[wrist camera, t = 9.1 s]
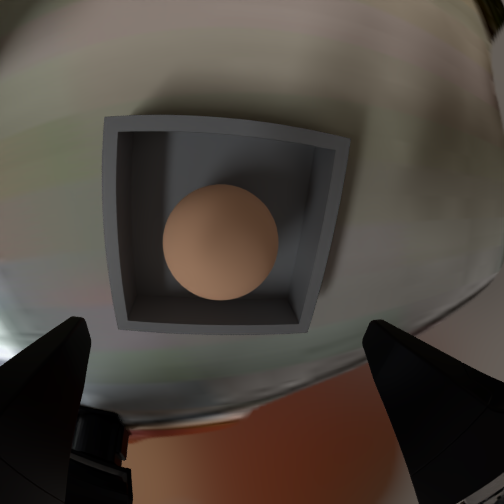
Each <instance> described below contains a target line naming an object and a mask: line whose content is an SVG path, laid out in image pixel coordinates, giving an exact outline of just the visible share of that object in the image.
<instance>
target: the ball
mask: <svg viewBox="0 0 504 504" xmlns="http://www.w3.org/2000/svg"><path fill="white" fill-rule="evenodd" d="M278 244H279V242H278V232H277V227H276V224H275V221H274V219H273V217H272V215H271V213H270V211H269V210H268V208H267V207H266V205H265V204H264V203H263V202H262V201H261V200H260V199H259V198H257V197H256V196H255V195H253V194H252V193H250V192H249V191H247V190H245V189H242V188H240V187H236V186H233V185H226V184H216V185H209V186H205V187H202V188H199V189H197V190H195V191H193V192H191V193H189V194H188V195H187V196H185V197H184V198H183V199H182V200H181V201H180V202H179V203H178V204H177V205H176V206H175V208H174V209H173V210H172V212H171V213H170V215H169V217H168V219H167V222H166V225H165V229H164V234H163V251H164V256H165V260H166V263H167V265H168V268H169V269H170V271H171V273H172V275H173V276H174V277H175V279H176V280H177V281H178V282H179V283H180V284H181V285H182V286H183V287H184V288H186V289H187V290H188V291H190V292H192V293H193V294H195V295H197V296H200V297H203V298H206V299H211V300H230V299H235V298H238V297H241V296H243V295H246V294H248V293H249V292H251V291H253V290H254V289H256V288H257V287H258V286H259V285H260V284H261V283H262V282H263V281H264V280H265V279H266V277H267V276H268V275H269V273H270V272H271V270H272V268H273V266H274V263H275V261H276V257H277V253H278Z"/></svg>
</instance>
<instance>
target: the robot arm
mask: <svg viewBox="0 0 504 504" xmlns="http://www.w3.org/2000/svg"><path fill="white" fill-rule="evenodd" d="M362 344H363V348H364V351H365V354H366V357H367V360H368V363H369V366H370V370H371V373H372V376H373V379H374V382H375V384H376V387H377V389H378V392H379V394H380V396H381V399H382V401H383V404H384V406H385V409H386V411H387V414H388V416H389V419H390V421H391V424H392V427H393V429H394V432H395V434H396V437H397V440H398V442H399V445H400V448H401V451H402V453H403V456H404V459H405V462H406V465H407V467H408V470H409V474H410V477H411V480H412V483H413V486H414V489H415V493H416V496H417V499H418V502H419V504H456V503H458V502H460V501H462V500H464V501H463V502H461V503H460V504H504V382H502V381H499V380H497V379H495V378H492V377H490V376H488V375H486V374H484V373H482V372H480V371H478V370H476V369H474V368H472V367H470V366H468V365H466V364H464V363H462V362H461V361H459V360H457V359H455V358H453V357H451V356H450V355H448V354H446V353H444V352H442V351H440V350H438V349H437V348H435V347H433V346H431V345H429V344H427V343H425V342H423V341H421V340H420V339H418V338H416V337H414V336H412V335H410V334H409V333H407V332H405V331H403V330H401V329H399V328H397V327H395V326H394V325H392V324H390V323H388V322H386V321H384V320H381V319H379V320H372V321H371V322H370V323H369V325H368V328H367V330H366V333H365V335H364V337H363V341H362ZM90 349H91V338H90V334H89V331H88V328H87V324H86V321H85V319H84V318H82V317H75V316H72V317H70V318H69V319H67V320H66V321H64V322H63V323H61V324H60V325H58V326H57V327H55V328H54V329H52V330H51V331H49V332H48V333H46V334H45V335H44V336H42V337H41V338H39V339H38V340H36V341H35V342H33V343H32V344H31V345H29V346H28V347H26V348H25V349H24V350H22V351H21V352H19V353H18V354H17V355H15V356H14V357H12V358H11V359H10V360H8V361H7V362H6V363H4V364H3V365H2V366H0V504H132V502H133V493H132V479H131V469H129V468H124V467H121V465H122V460H124V461H125V460H126V457H127V447H128V438H129V434H128V432H127V430H126V428H125V427H124V425H123V424H122V422H121V420H120V418H119V416H118V415H117V414H115V413H111V412H105V411H99V410H94V409H89V408H84V407H79V406H80V402H81V398H82V394H83V389H84V384H85V378H86V371H87V365H88V359H89V354H90Z"/></svg>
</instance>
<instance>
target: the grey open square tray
mask: <svg viewBox="0 0 504 504" xmlns="http://www.w3.org/2000/svg"><path fill="white" fill-rule="evenodd" d="M350 141H351V139H350V138H346V137H342V136H338V135H333V134H329V133H324V132H319V131H314V130H309V129H304V128H299V127H293V126H287V125H281V124H274V123H267V122H260V121H252V120H243V119H233V118H222V117H208V116H189V115H129V116H110V117H105V118H104V131H103V149H102V206H103V225H104V238H105V249H106V258H107V267H108V274H109V281H110V288H111V294H112V300H113V306H114V311H115V316H116V321H117V326H118V329H120V330H131V331H143V332H158V333H176V334H205V335H260V334H290V333H308V329H309V326H310V323H311V319H312V316H313V312H314V309H315V305H316V302H317V298H318V294H319V291H320V287H321V283H322V279H323V275H324V271H325V267H326V263H327V259H328V255H329V251H330V247H331V242H332V238H333V233H334V229H335V224H336V220H337V215H338V210H339V205H340V200H341V195H342V189H343V184H344V178H345V173H346V167H347V161H348V154H349V148H350ZM216 184H226V185H233V186H236V187H240V188H242V189H245V190H247V191H249V192H250V193H252V194H253V195H255V196H256V197H257V198H259V199H260V200H261V201H262V202H263V203H264V204H265V205H266V207H267V208H268V210H269V211H270V213H271V215H272V217H273V219H274V221H275V224H276V227H277V232H278V242H279V244H278V253H277V257H276V261H275V263H274V266H273V268H272V270H271V272H270V273H269V275H268V276H267V277H266V279H265V280H264V281H263V282H262V283H261V284H260V285H259V286H258V287H257V288H256V289H254V290H253V291H251V292H249V293H248V294H246V295H243V296H241V297H238V298H235V299H230V300H211V299H206V298H203V297H200V296H197V295H195V294H193V293H192V292H190V291H188V290H187V289H186V288H184V287H183V286H182V285H181V284H180V283H179V282H178V281H177V280H176V279H175V277H174V276H173V275H172V273H171V271H170V269H169V268H168V265H167V263H166V260H165V256H164V251H163V234H164V229H165V225H166V222H167V219H168V217H169V215H170V213H171V212H172V210H173V209H174V208H175V206H176V205H177V204H178V203H179V202H180V201H181V200H182V199H183V198H184V197H185V196H187V195H188V194H189V193H191V192H193V191H195V190H197V189H199V188H202V187H205V186H209V185H216Z"/></svg>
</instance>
